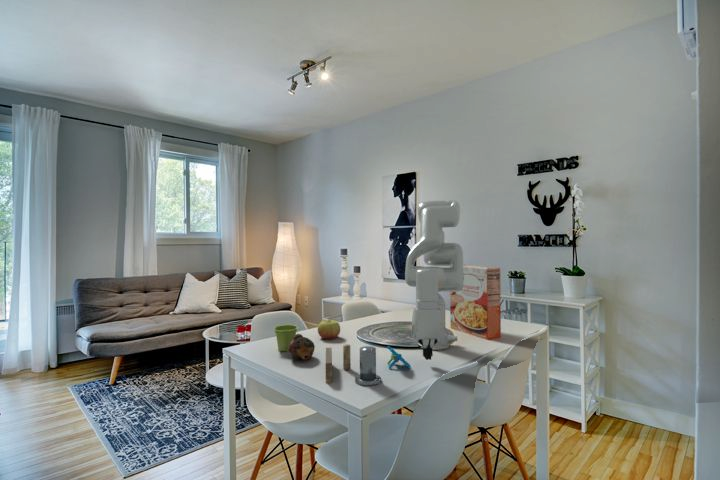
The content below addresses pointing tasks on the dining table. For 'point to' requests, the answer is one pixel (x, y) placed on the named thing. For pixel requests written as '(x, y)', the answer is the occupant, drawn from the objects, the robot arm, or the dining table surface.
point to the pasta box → (477, 303)
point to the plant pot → (285, 336)
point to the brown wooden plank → (328, 365)
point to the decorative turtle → (301, 347)
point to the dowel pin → (346, 357)
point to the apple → (329, 329)
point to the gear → (396, 358)
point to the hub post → (367, 367)
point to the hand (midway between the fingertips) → (427, 358)
